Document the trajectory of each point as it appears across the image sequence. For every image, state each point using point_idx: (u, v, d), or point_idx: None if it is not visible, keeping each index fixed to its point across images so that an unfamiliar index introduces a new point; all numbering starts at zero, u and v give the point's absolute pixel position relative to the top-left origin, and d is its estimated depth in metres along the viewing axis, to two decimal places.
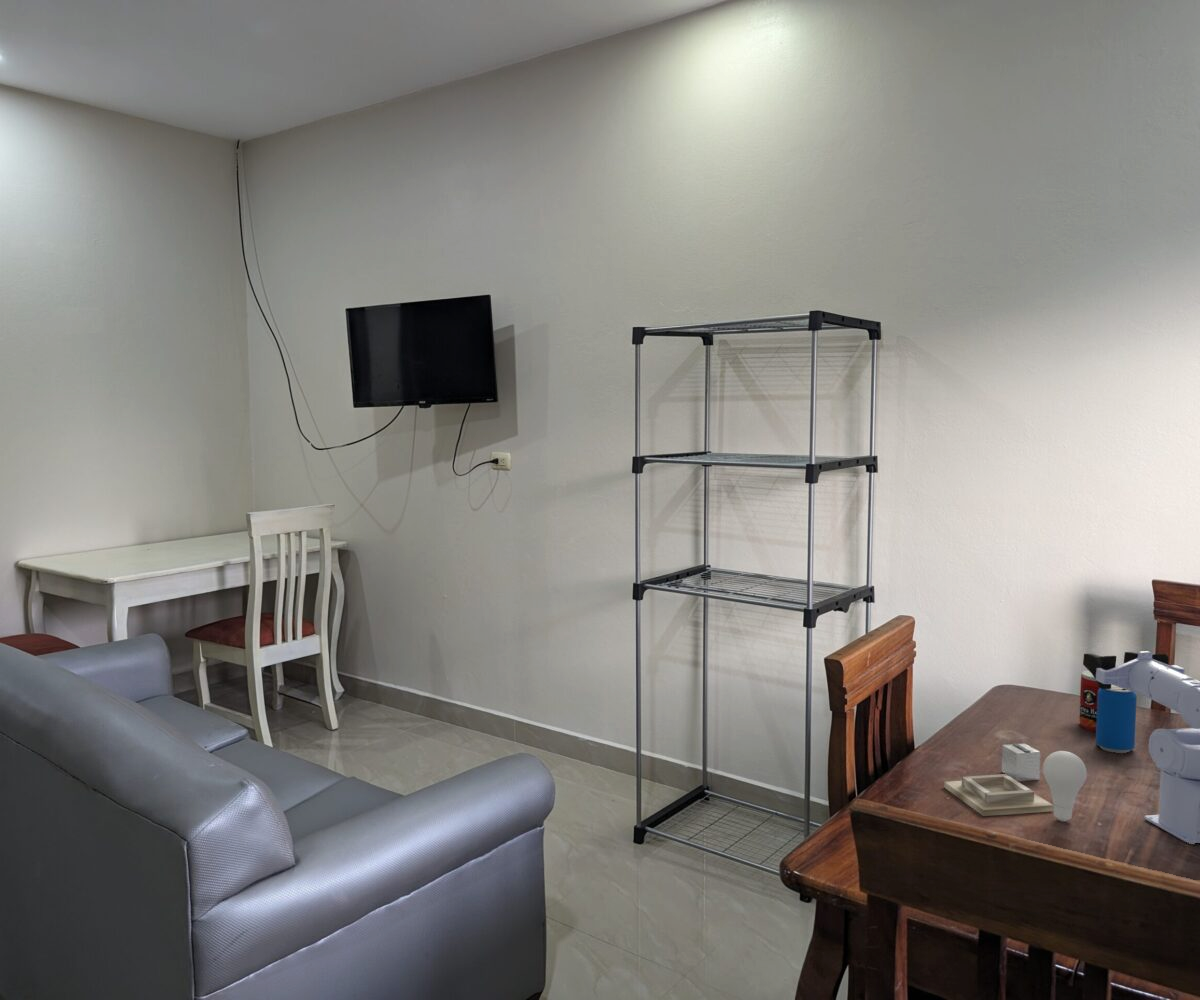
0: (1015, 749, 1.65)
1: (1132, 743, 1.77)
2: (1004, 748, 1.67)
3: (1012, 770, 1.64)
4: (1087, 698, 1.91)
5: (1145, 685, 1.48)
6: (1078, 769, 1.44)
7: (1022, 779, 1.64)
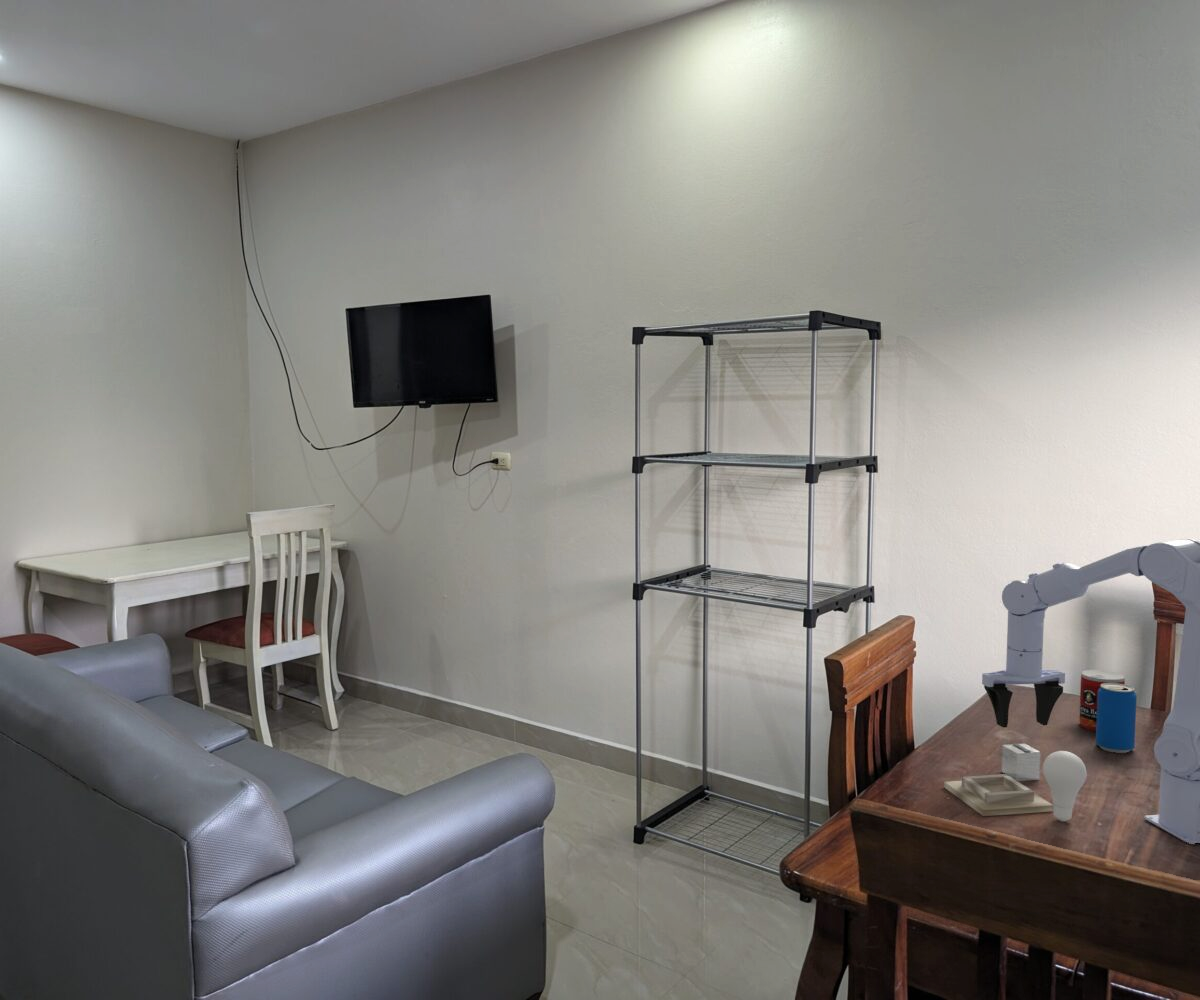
0: (1015, 749, 1.65)
1: (1132, 743, 1.77)
2: (1004, 748, 1.67)
3: (1012, 770, 1.64)
4: (1087, 698, 1.91)
5: (1009, 652, 1.64)
6: (1078, 769, 1.44)
7: (1022, 779, 1.64)
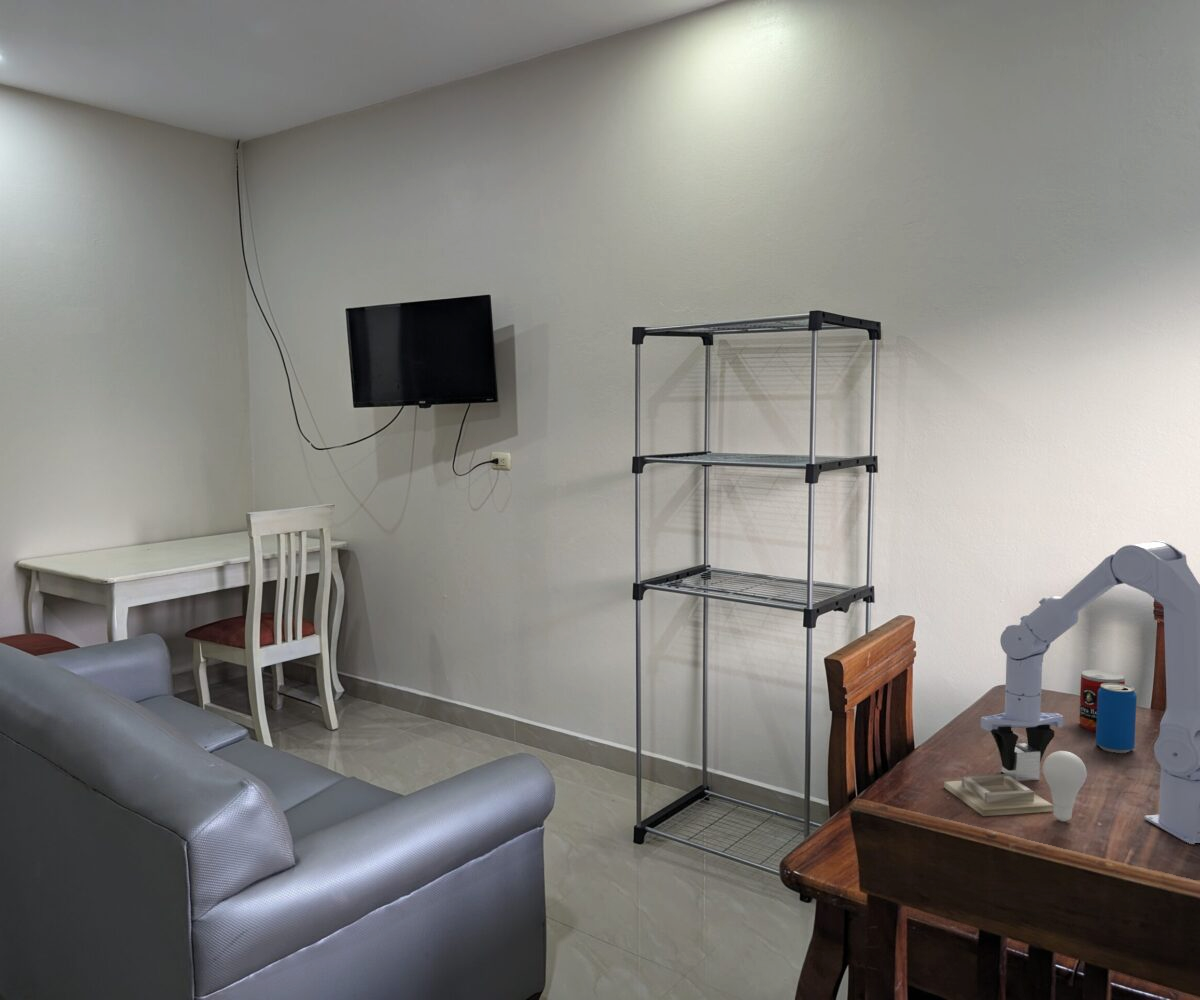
0: (1015, 748, 1.65)
1: (1132, 743, 1.77)
2: None
3: (1012, 770, 1.64)
4: (1087, 698, 1.91)
5: (1008, 696, 1.64)
6: (1078, 769, 1.44)
7: (1022, 779, 1.64)
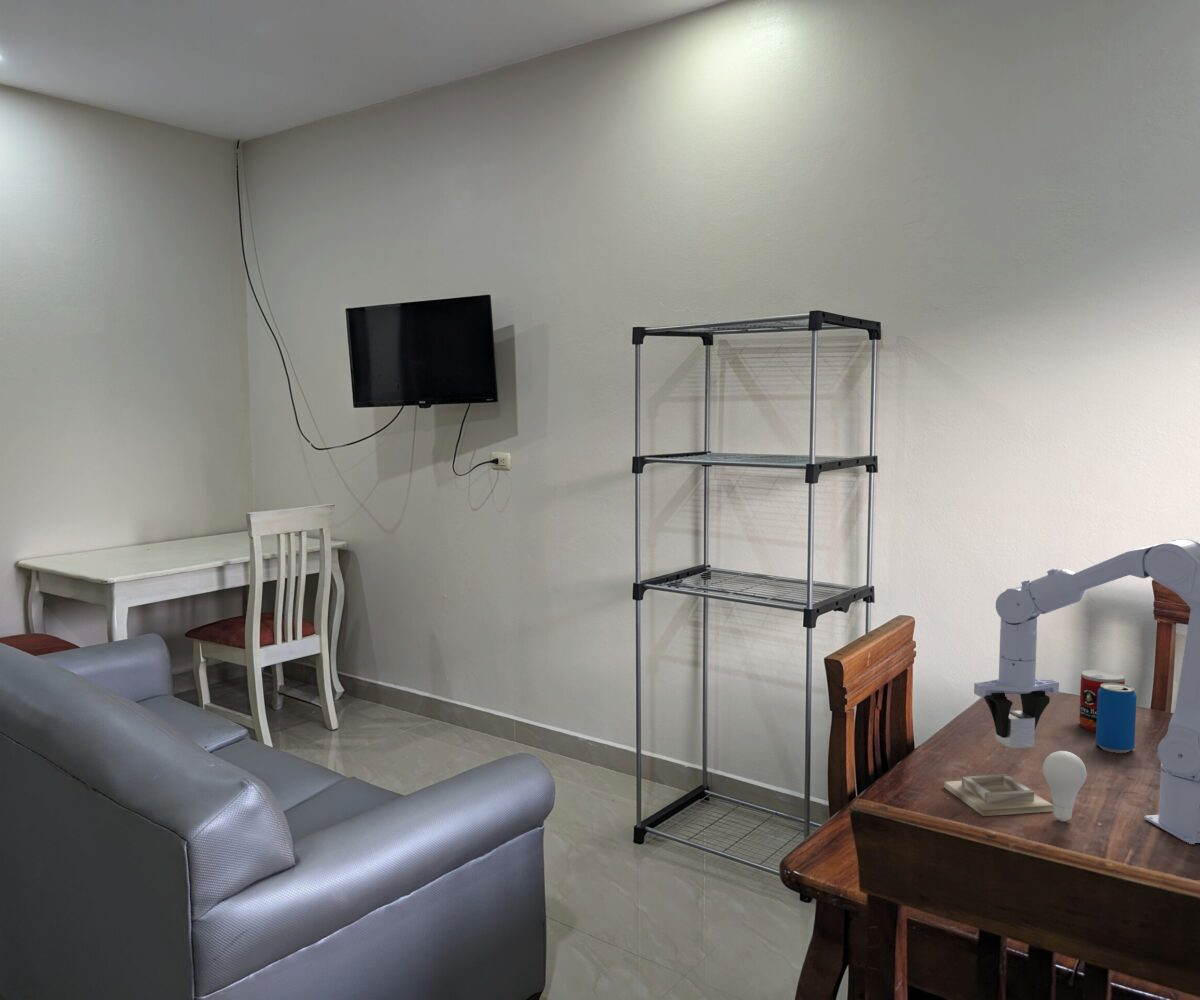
0: (1009, 715, 1.61)
1: (1132, 743, 1.77)
2: None
3: None
4: (1087, 698, 1.91)
5: (1002, 661, 1.61)
6: (1078, 769, 1.44)
7: (1016, 746, 1.60)
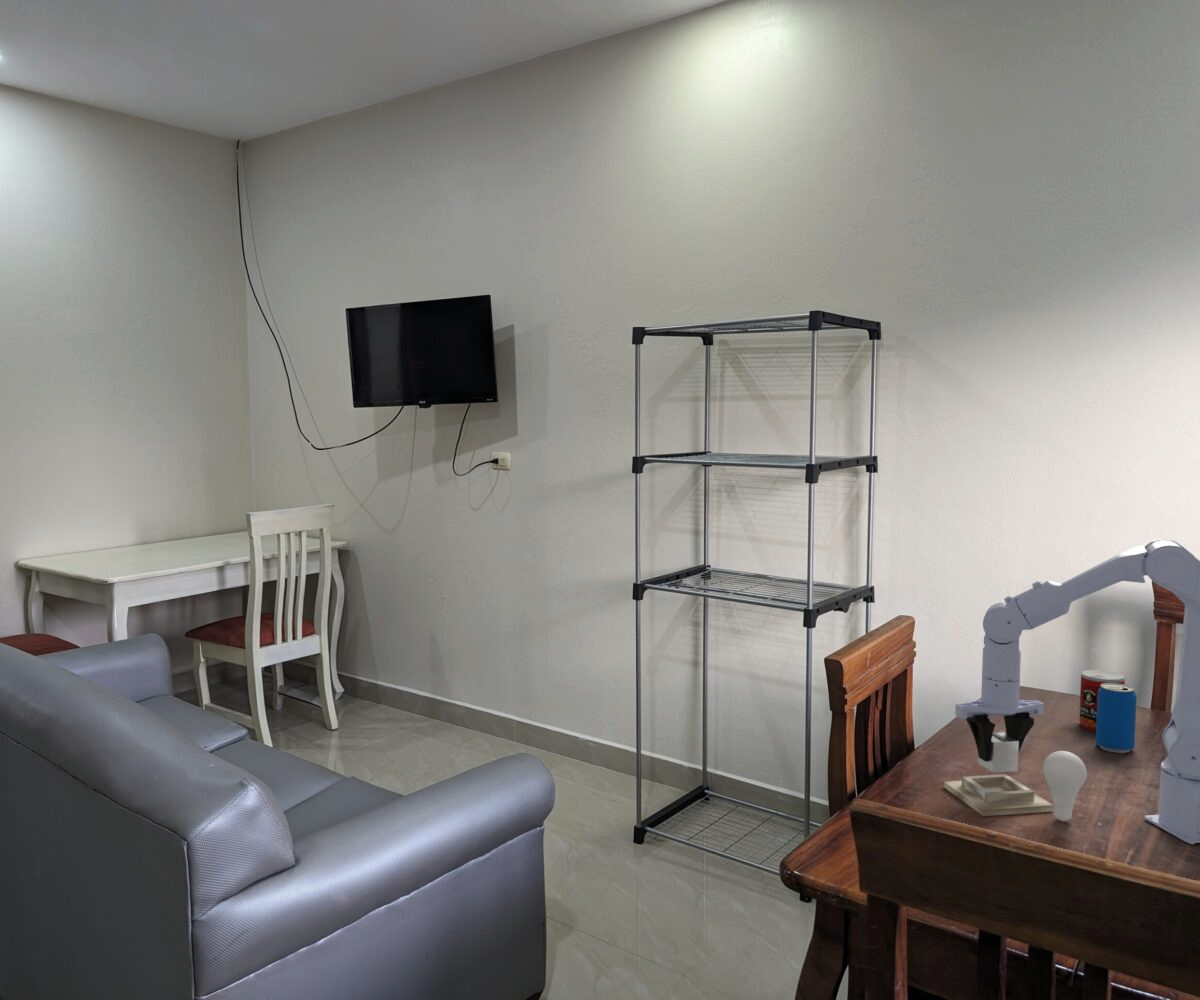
0: (992, 738, 1.54)
1: (1132, 743, 1.77)
2: None
3: (989, 761, 1.54)
4: (1087, 698, 1.91)
5: (984, 682, 1.54)
6: (1078, 769, 1.44)
7: (999, 770, 1.53)
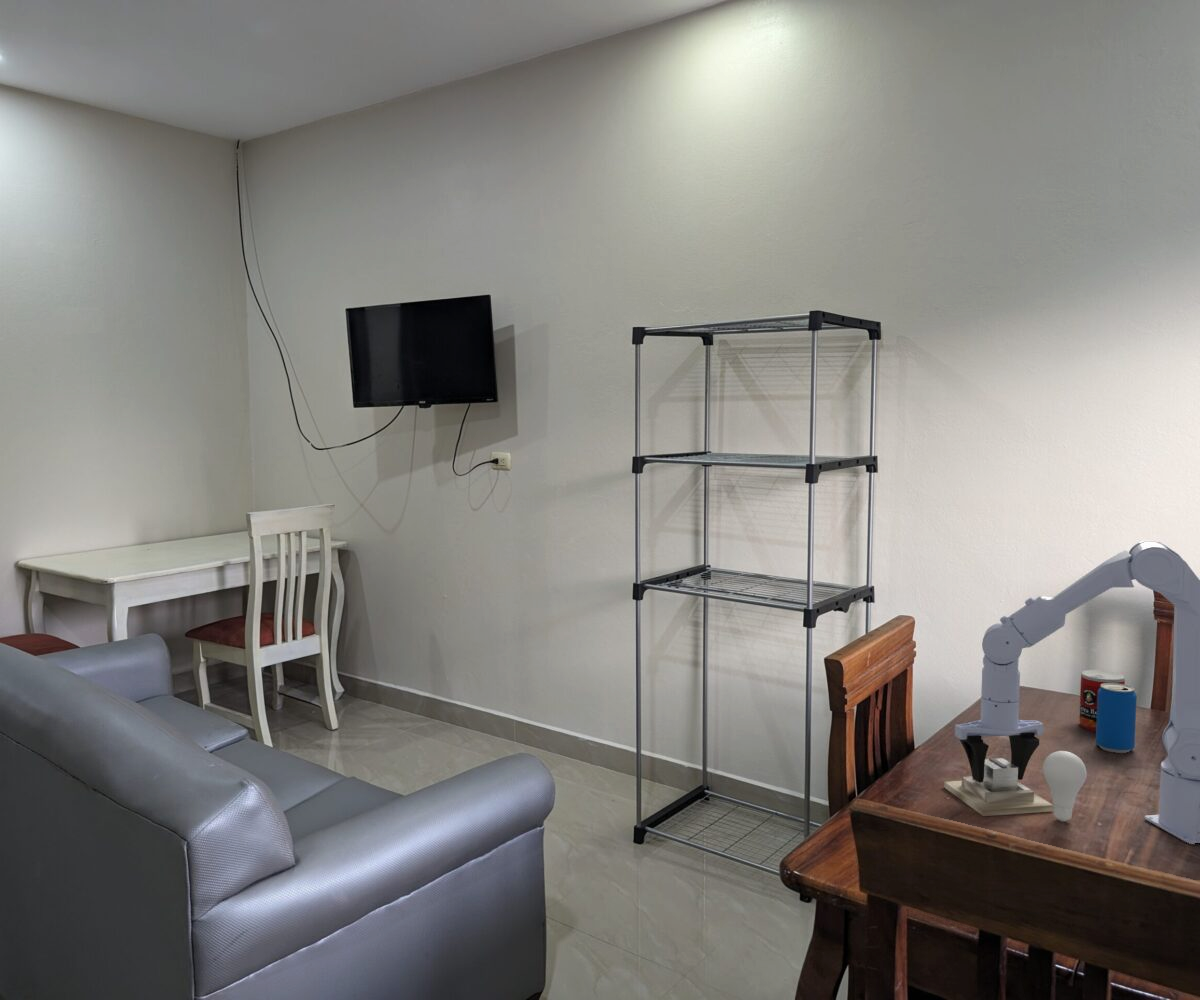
0: (992, 764, 1.55)
1: (1132, 743, 1.77)
2: None
3: (988, 787, 1.54)
4: (1087, 698, 1.91)
5: (984, 702, 1.54)
6: (1078, 769, 1.44)
7: None
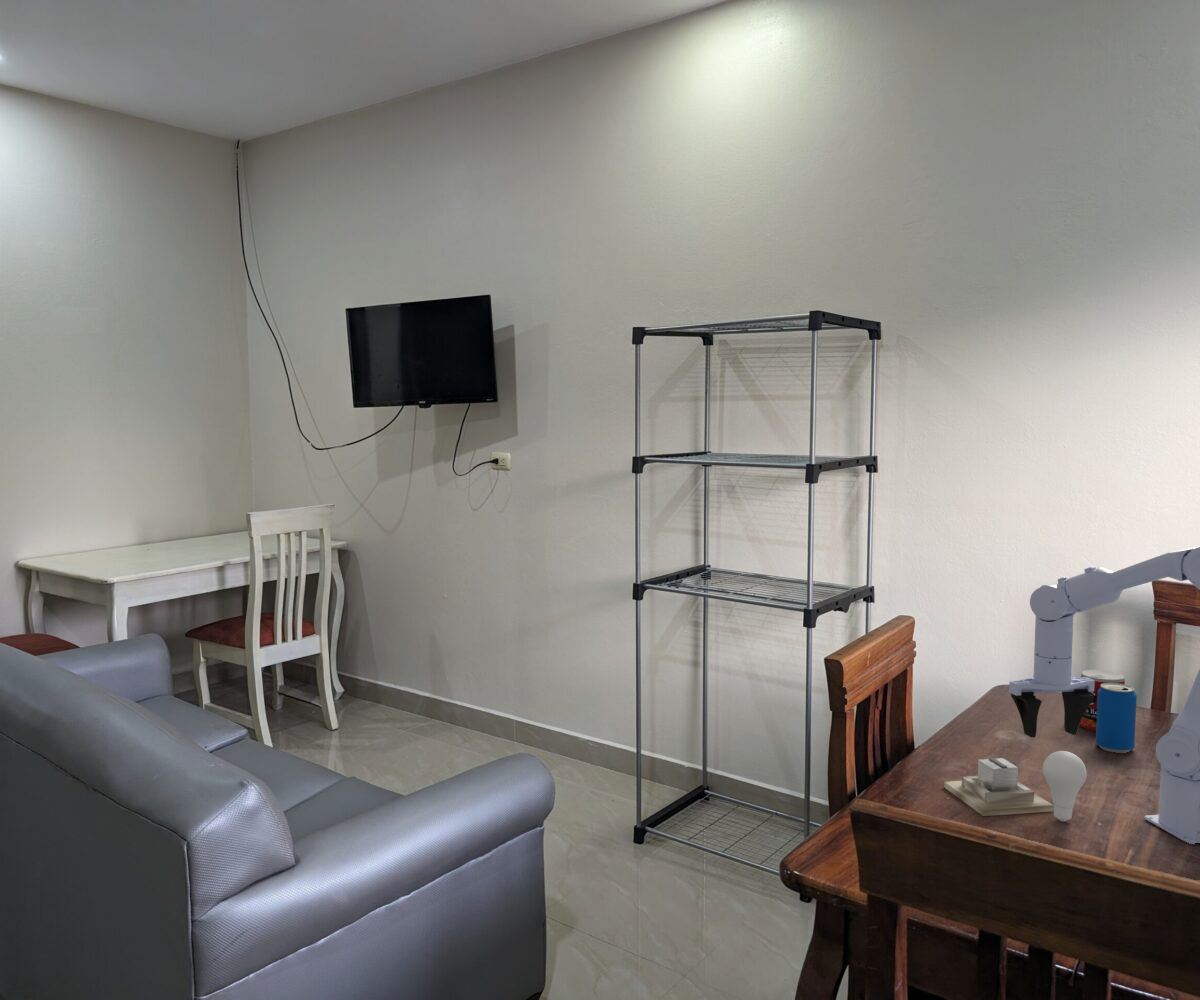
0: (992, 764, 1.55)
1: (1132, 743, 1.77)
2: (980, 763, 1.56)
3: (988, 787, 1.54)
4: None
5: (1037, 659, 1.58)
6: (1078, 769, 1.44)
7: None
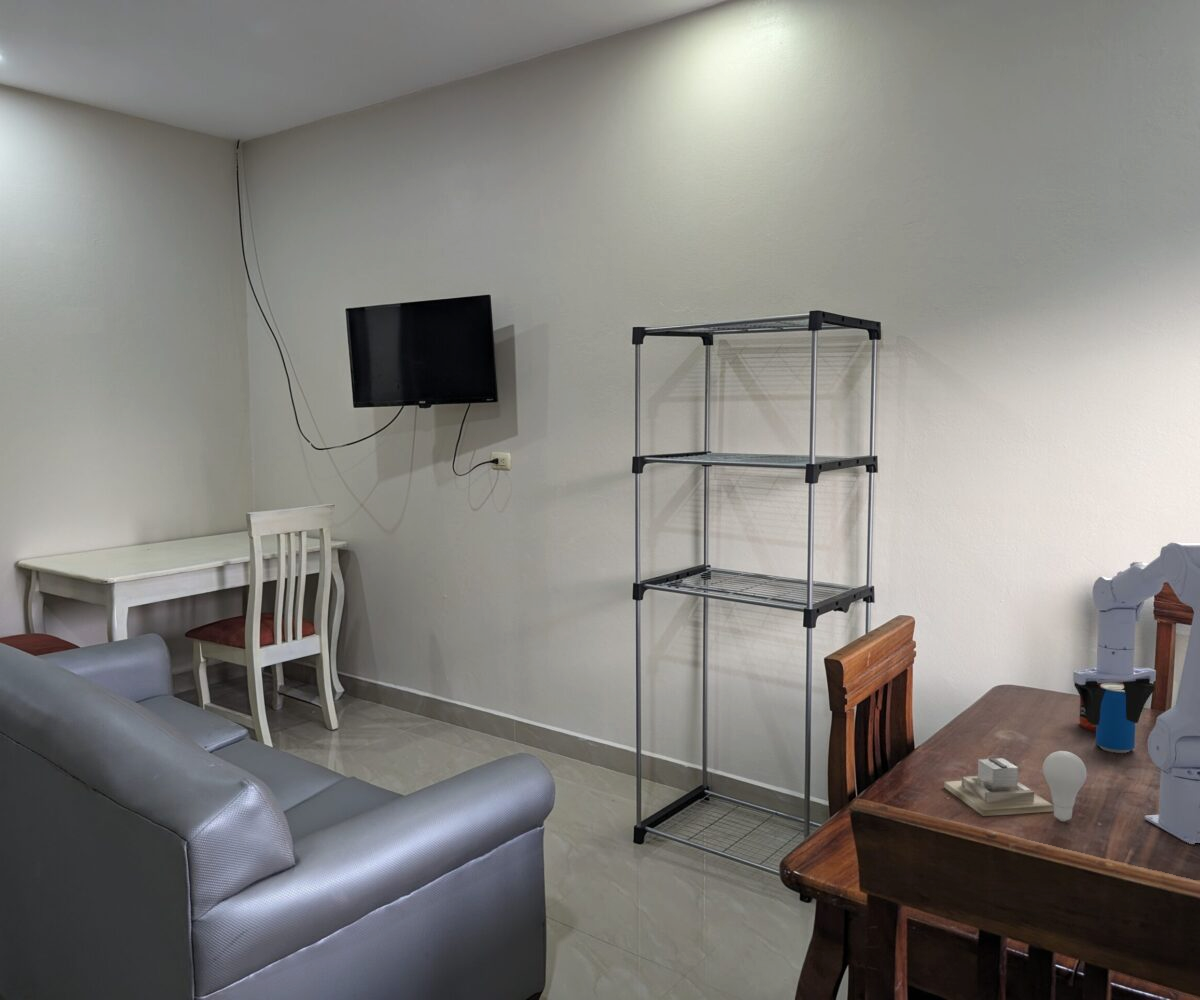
0: (992, 764, 1.55)
1: (1132, 743, 1.77)
2: (980, 763, 1.56)
3: (988, 787, 1.54)
4: None
5: (1101, 650, 1.64)
6: (1078, 769, 1.44)
7: None
